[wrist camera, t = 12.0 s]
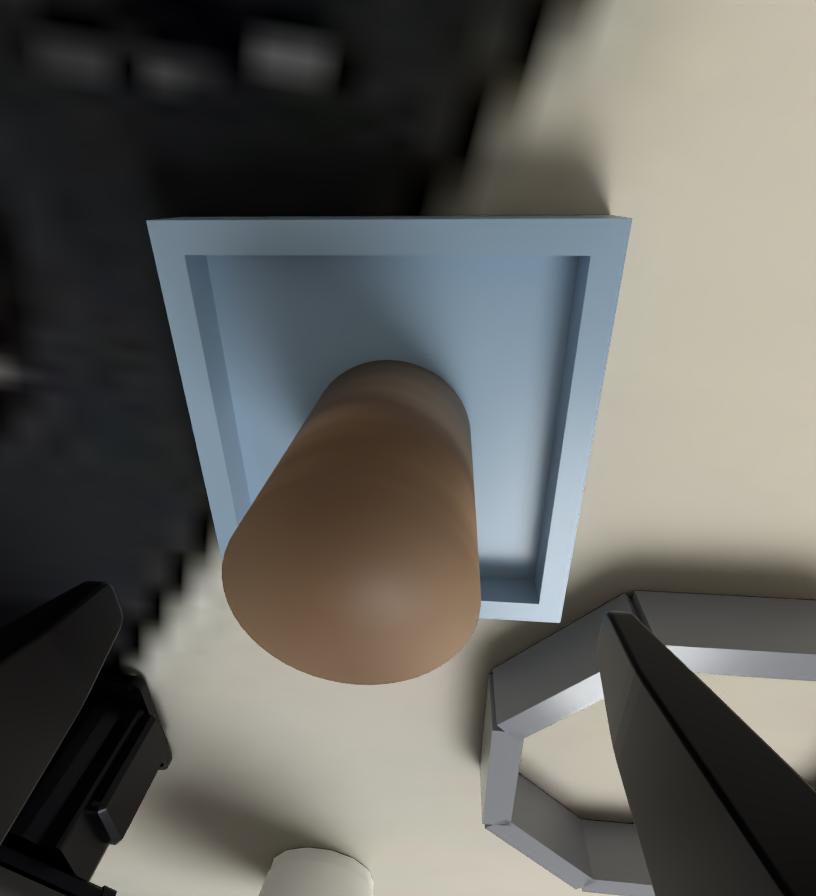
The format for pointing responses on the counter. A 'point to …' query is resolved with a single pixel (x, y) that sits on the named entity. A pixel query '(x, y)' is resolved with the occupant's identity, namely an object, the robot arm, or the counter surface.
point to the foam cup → (316, 875)
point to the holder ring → (579, 685)
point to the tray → (406, 356)
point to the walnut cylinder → (364, 533)
